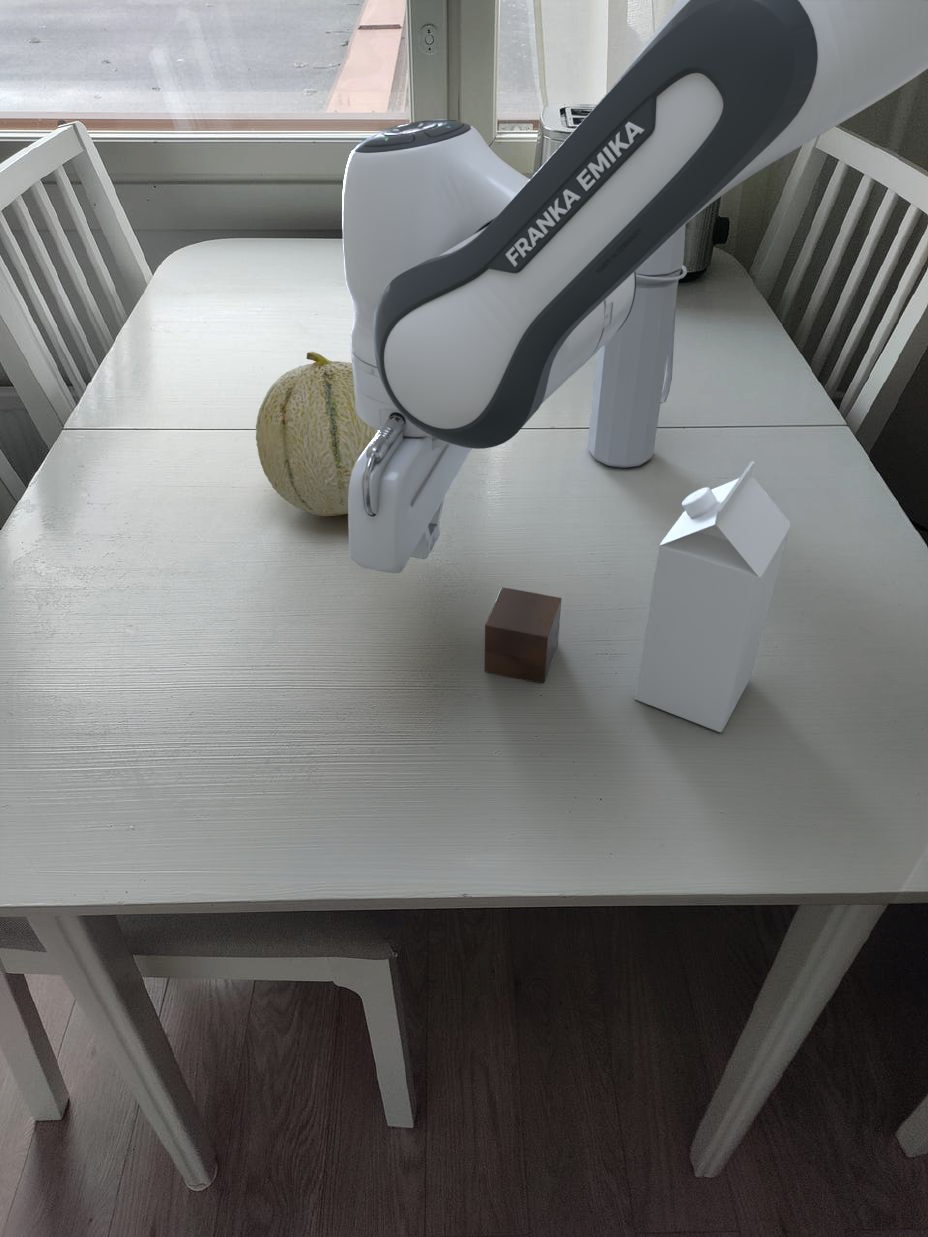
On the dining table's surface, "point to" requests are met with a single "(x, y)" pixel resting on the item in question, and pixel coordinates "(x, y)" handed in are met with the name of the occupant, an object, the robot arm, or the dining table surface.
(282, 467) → the cantaloupe
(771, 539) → the milk carton
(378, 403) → the robot arm
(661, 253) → the water bottle
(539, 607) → the walnut block
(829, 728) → the dining table surface
